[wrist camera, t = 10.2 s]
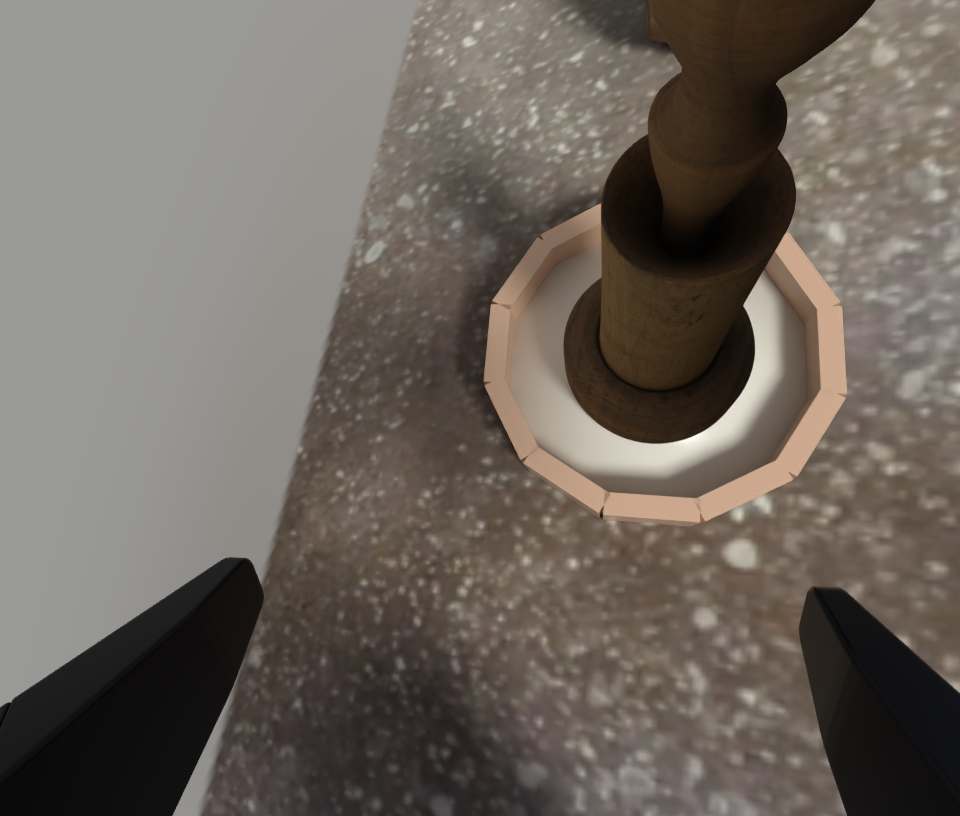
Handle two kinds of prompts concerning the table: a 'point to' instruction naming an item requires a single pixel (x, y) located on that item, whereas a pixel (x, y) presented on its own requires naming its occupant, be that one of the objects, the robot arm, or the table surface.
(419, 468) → the table surface
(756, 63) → the mortar and pestle
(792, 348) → the bowl
